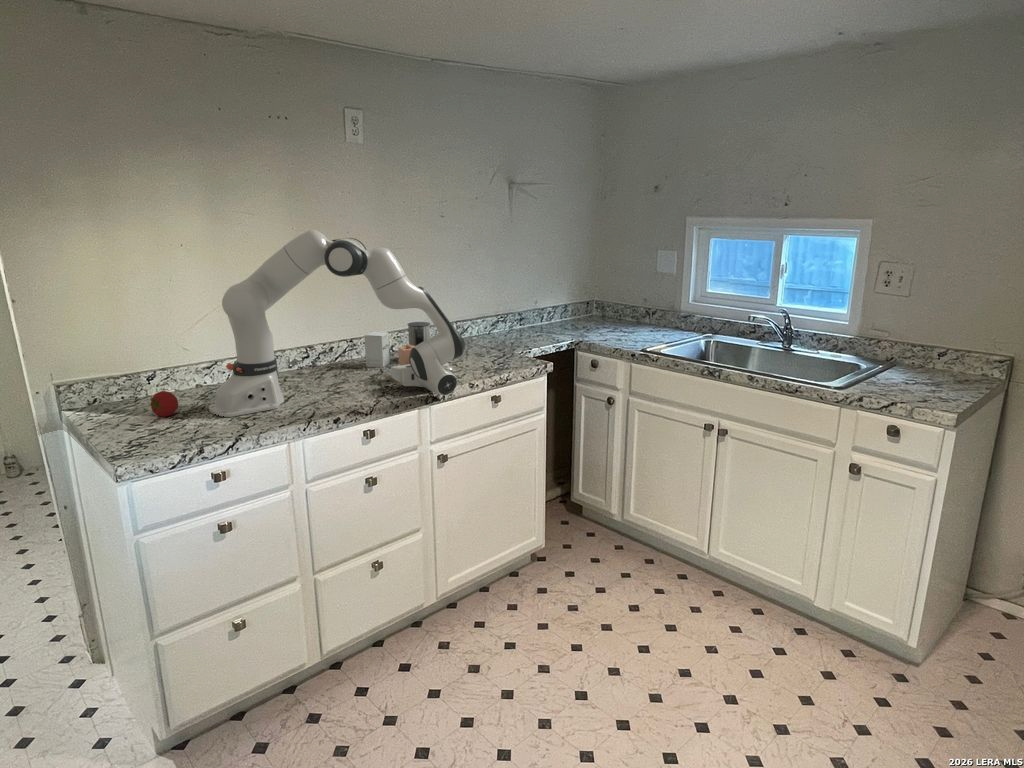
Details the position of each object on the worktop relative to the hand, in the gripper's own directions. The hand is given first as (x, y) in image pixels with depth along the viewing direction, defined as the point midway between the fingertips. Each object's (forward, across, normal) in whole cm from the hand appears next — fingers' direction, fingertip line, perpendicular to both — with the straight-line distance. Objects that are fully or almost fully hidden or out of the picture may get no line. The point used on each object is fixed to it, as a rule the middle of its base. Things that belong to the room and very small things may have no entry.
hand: (411, 365), depth 231 cm
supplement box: (+30, +2, +7) cm, 31 cm away
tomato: (+3, +79, +7) cm, 79 cm away
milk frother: (+28, -19, +7) cm, 34 cm away
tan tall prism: (+2, 0, +5) cm, 6 cm away
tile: (+2, 0, +6) cm, 7 cm away
